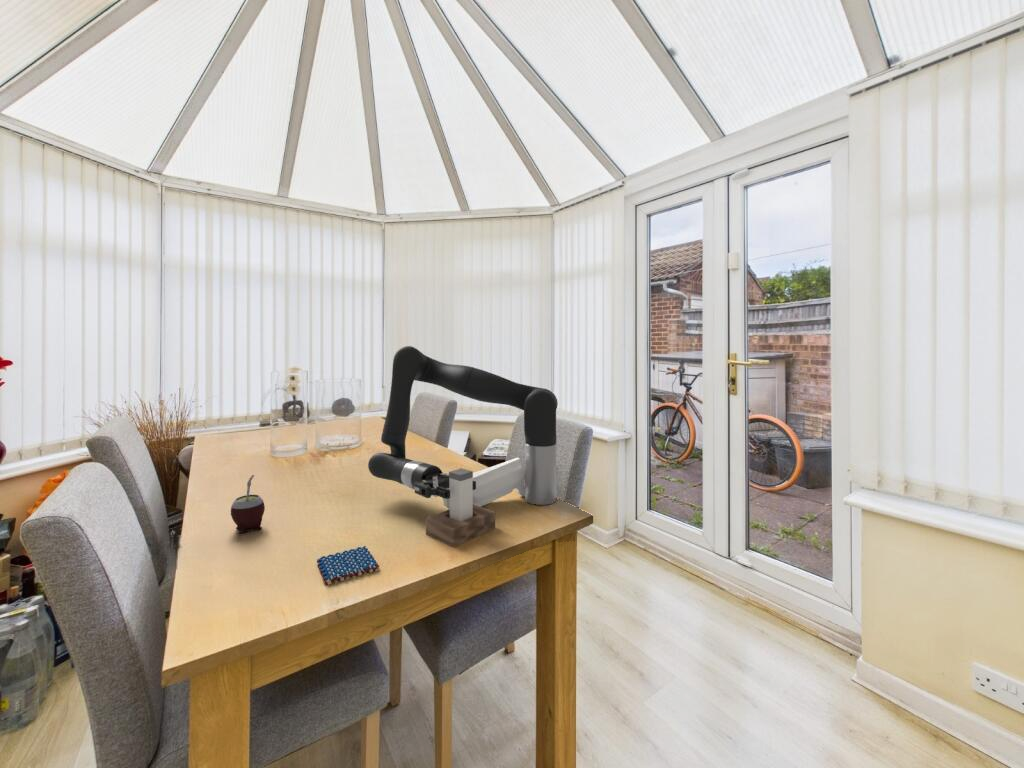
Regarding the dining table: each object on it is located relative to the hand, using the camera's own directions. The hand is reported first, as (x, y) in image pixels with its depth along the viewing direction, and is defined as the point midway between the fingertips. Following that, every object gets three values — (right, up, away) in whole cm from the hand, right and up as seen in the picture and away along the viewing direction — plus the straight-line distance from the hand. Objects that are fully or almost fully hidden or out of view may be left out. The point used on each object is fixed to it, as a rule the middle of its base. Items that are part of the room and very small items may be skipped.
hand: (462, 490), depth 102 cm
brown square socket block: (0, -10, +1) cm, 11 cm away
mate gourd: (-53, -10, +1) cm, 54 cm away
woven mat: (-22, -12, -16) cm, 30 cm away
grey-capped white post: (0, -9, +1) cm, 10 cm away
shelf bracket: (+5, -9, +20) cm, 22 cm away
